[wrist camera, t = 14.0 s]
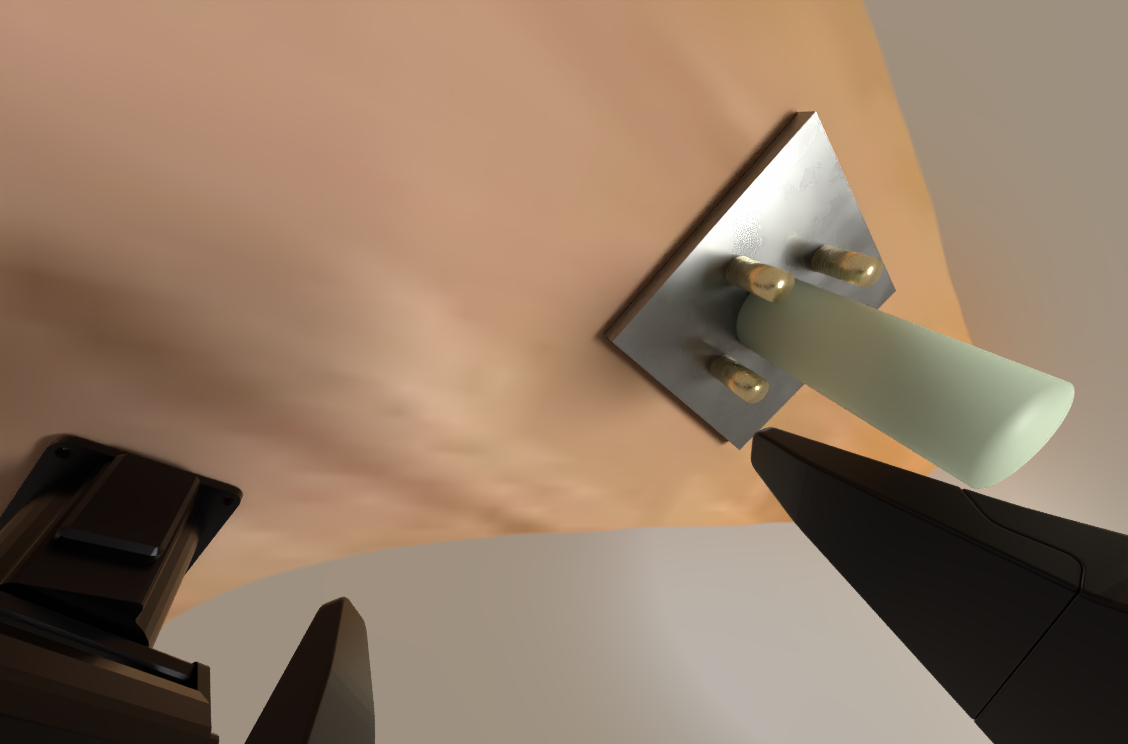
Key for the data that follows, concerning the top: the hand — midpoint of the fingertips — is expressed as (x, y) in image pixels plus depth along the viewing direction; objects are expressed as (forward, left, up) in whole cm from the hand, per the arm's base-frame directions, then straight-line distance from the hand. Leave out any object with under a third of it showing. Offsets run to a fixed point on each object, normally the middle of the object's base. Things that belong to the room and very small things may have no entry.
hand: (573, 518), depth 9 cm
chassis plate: (+10, -13, -13) cm, 21 cm away
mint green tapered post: (+10, -13, -12) cm, 21 cm away
